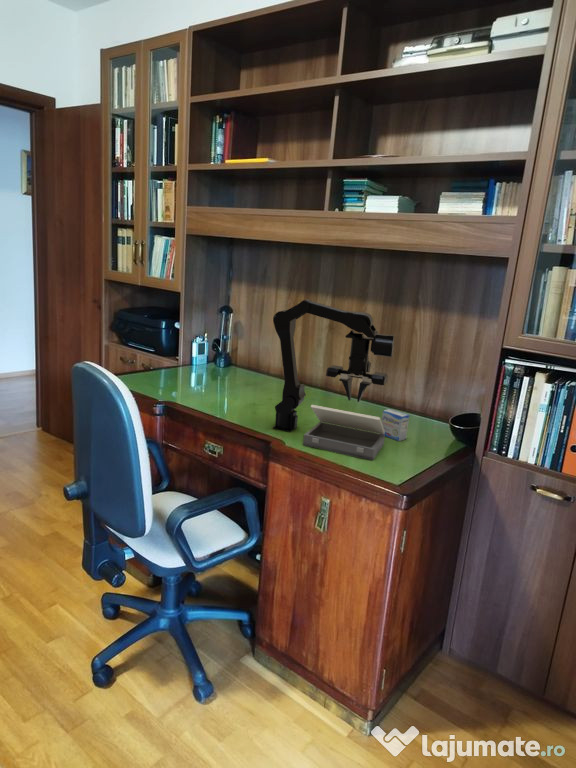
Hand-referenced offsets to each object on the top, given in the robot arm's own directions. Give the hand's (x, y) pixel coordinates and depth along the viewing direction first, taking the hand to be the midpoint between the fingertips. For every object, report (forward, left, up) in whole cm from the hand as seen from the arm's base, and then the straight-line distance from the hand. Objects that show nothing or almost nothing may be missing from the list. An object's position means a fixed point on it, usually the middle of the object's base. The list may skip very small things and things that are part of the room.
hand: (353, 401), depth 168 cm
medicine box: (+12, +11, -13) cm, 21 cm away
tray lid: (0, -5, -5) cm, 7 cm away
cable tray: (0, -7, -13) cm, 15 cm away
